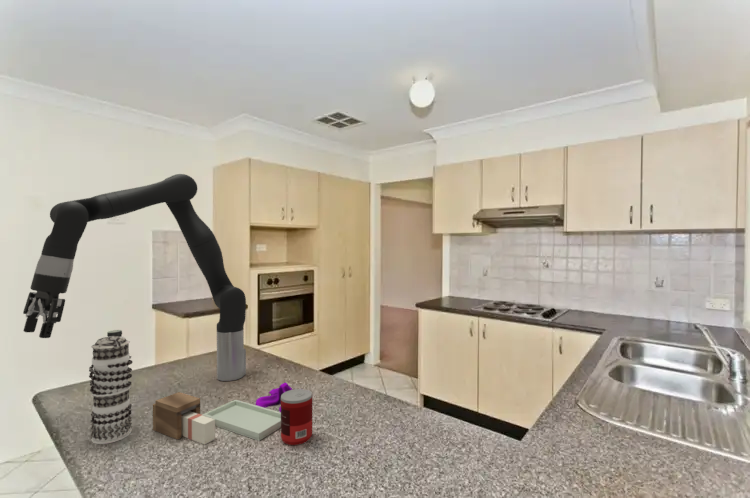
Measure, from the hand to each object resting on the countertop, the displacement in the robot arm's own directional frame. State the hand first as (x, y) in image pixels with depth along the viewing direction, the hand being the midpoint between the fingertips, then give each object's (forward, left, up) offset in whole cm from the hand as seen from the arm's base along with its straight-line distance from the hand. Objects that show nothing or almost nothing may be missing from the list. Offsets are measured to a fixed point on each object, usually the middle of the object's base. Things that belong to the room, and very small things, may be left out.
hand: (36, 334), depth 100 cm
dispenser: (-18, +33, -25) cm, 45 cm away
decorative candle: (-8, +21, -25) cm, 33 cm away
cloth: (-47, +45, -26) cm, 70 cm away
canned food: (-30, +63, -25) cm, 74 cm away
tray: (-30, +45, -25) cm, 59 cm away
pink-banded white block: (-18, +38, -25) cm, 49 cm away
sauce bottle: (-25, -10, -25) cm, 37 cm away
